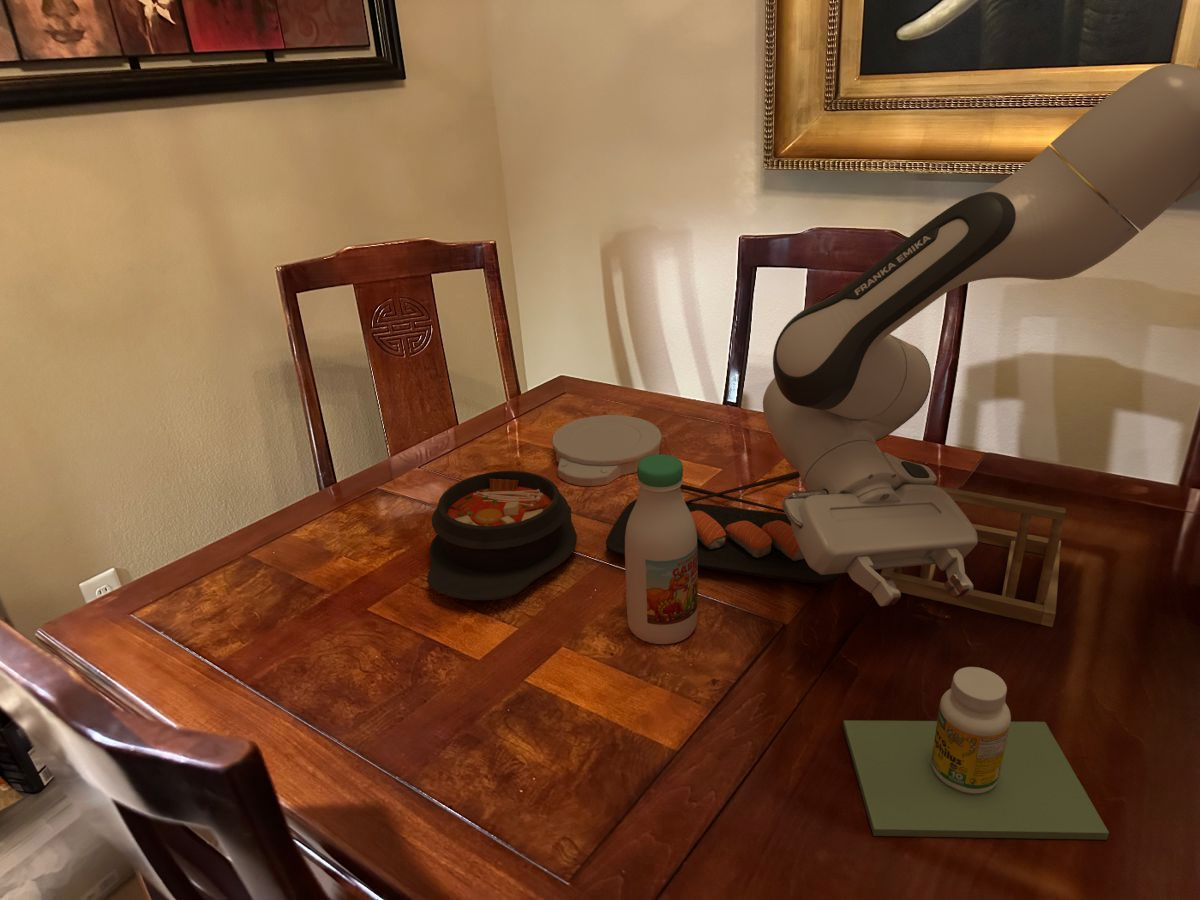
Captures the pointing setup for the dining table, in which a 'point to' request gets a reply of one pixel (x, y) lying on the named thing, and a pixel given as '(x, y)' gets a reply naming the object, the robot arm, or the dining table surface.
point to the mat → (934, 809)
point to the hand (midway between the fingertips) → (929, 597)
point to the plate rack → (1018, 543)
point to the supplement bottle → (971, 731)
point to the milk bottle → (661, 555)
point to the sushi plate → (739, 538)
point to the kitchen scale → (603, 448)
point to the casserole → (498, 535)
